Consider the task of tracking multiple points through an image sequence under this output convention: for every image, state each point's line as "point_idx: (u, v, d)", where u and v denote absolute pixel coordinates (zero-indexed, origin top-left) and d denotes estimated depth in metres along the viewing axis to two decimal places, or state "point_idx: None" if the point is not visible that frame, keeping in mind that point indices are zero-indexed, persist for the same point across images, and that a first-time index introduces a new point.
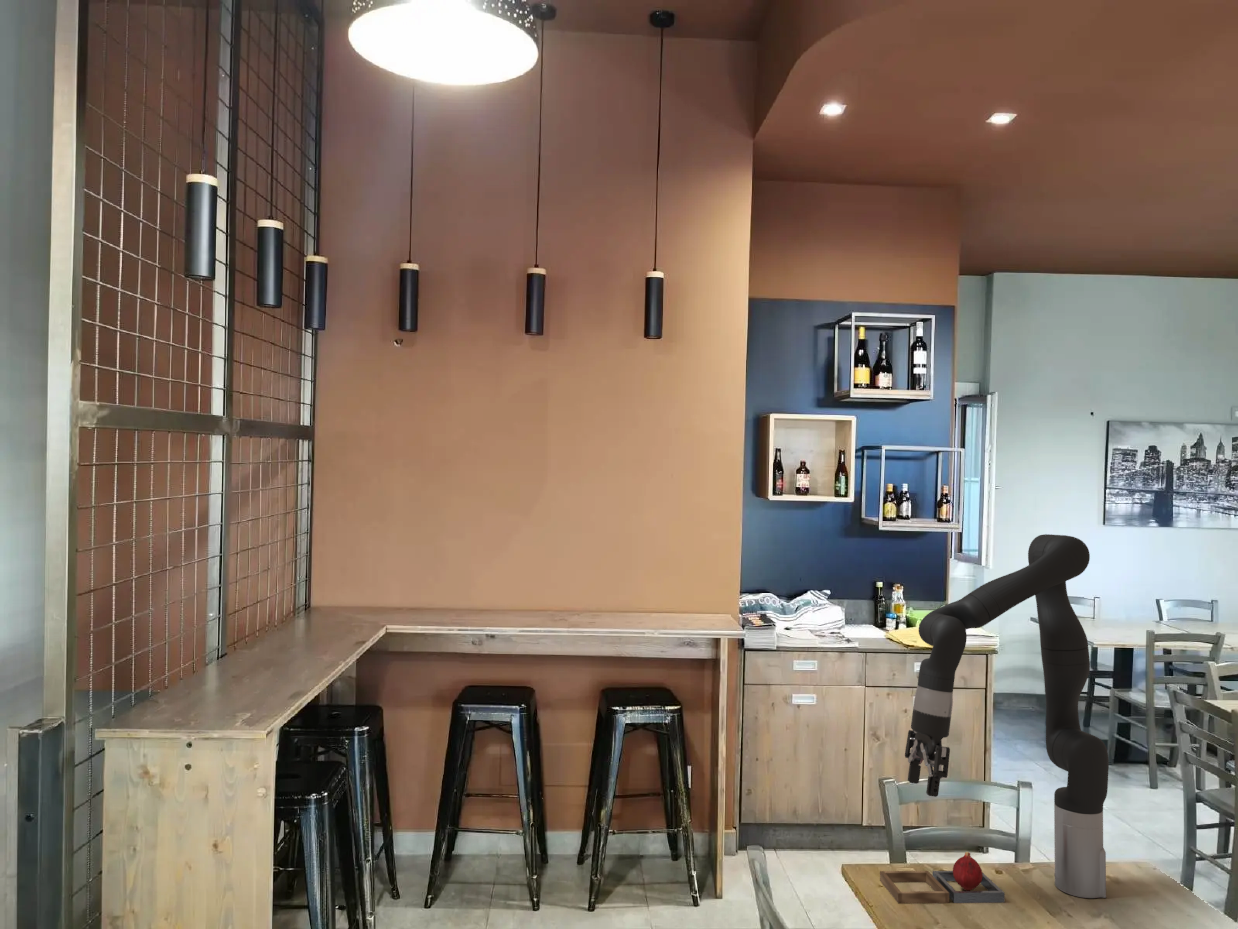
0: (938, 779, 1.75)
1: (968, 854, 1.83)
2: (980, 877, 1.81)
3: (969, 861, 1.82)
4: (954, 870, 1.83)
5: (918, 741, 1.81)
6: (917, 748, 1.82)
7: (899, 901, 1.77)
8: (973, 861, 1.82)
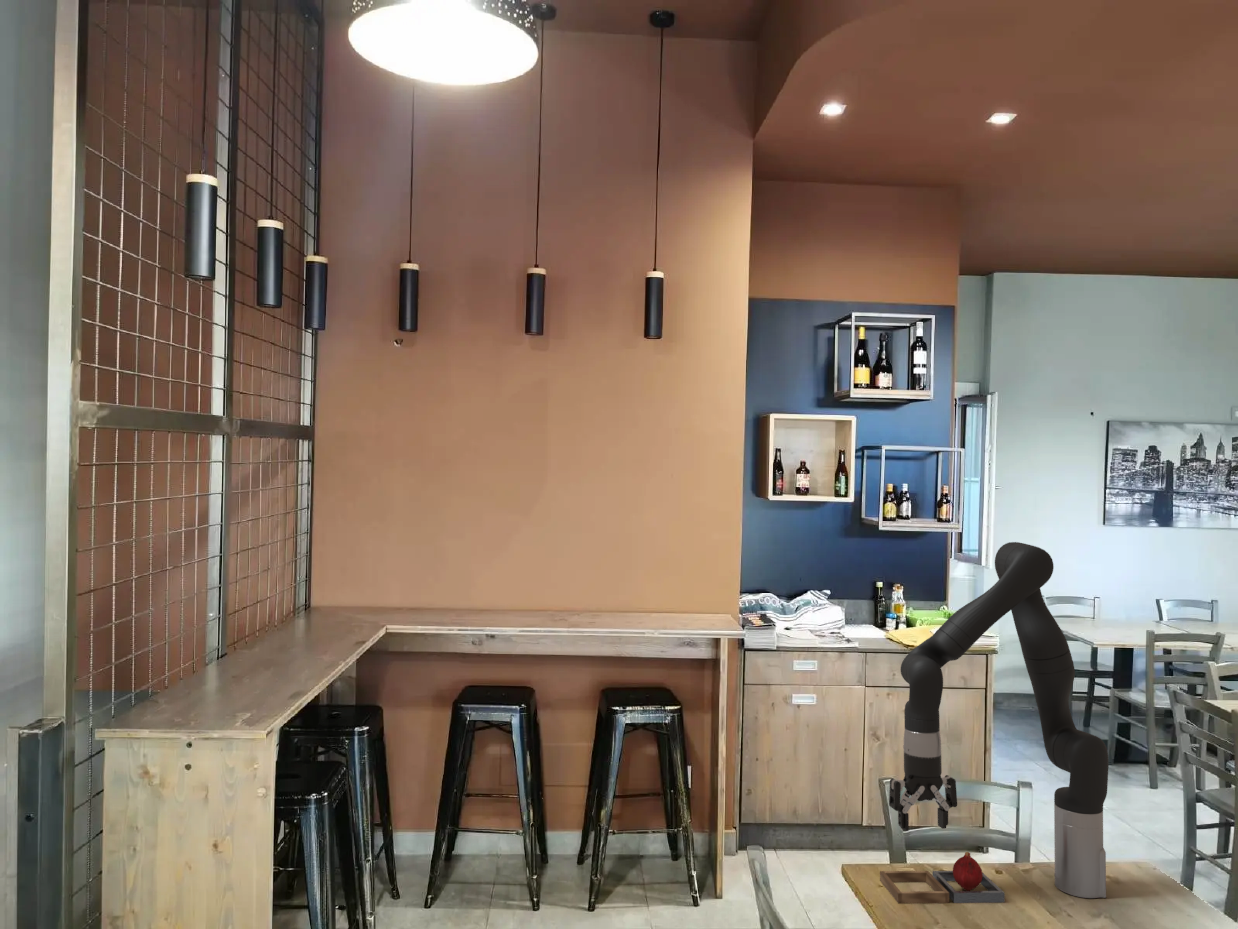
0: (900, 813, 1.82)
1: (968, 854, 1.83)
2: (980, 877, 1.81)
3: (969, 861, 1.82)
4: (954, 870, 1.83)
5: None
6: None
7: (899, 901, 1.77)
8: (973, 861, 1.82)
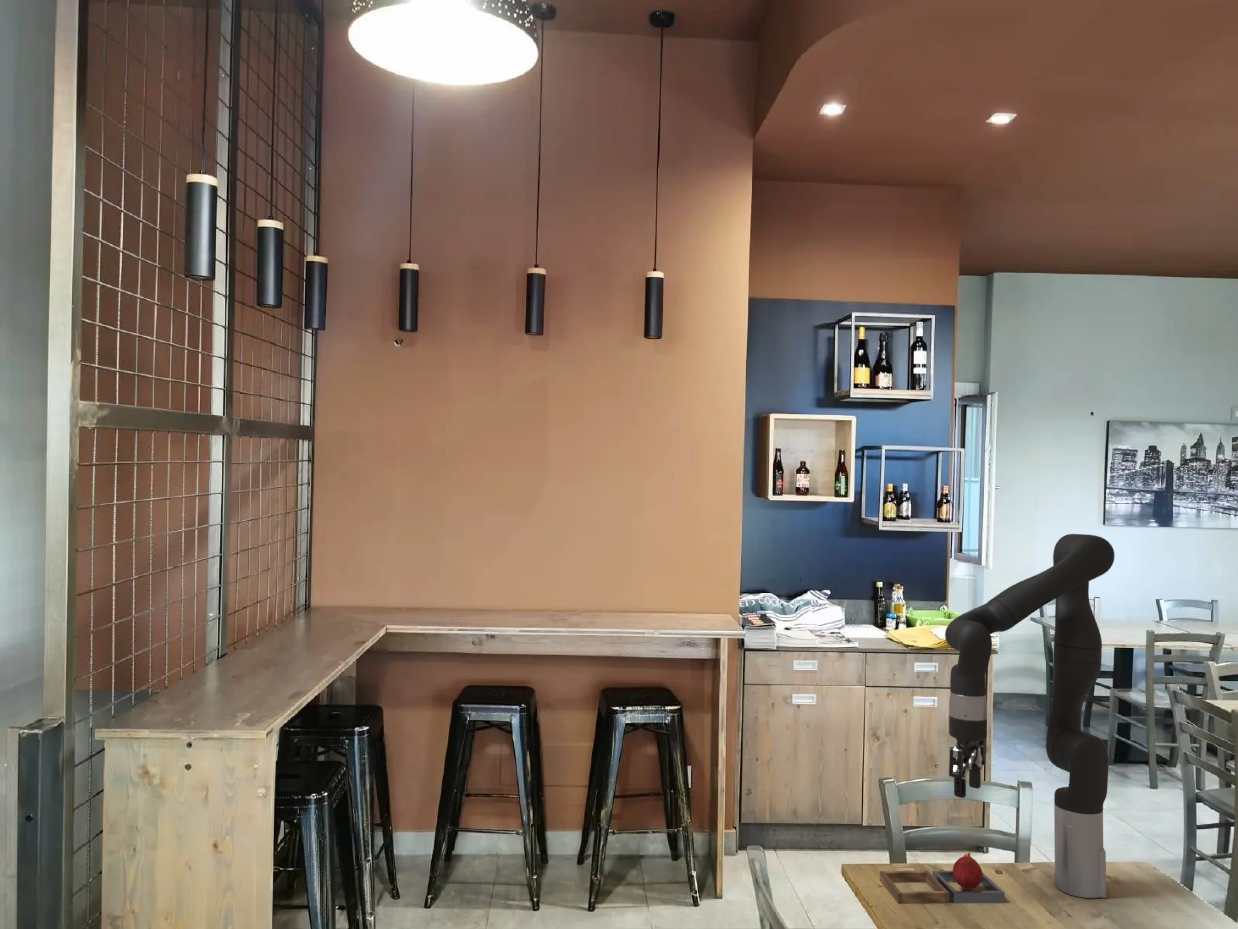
0: (959, 780, 1.80)
1: (968, 854, 1.83)
2: (980, 877, 1.81)
3: (969, 861, 1.82)
4: (954, 870, 1.83)
5: None
6: None
7: (899, 901, 1.77)
8: (973, 861, 1.82)
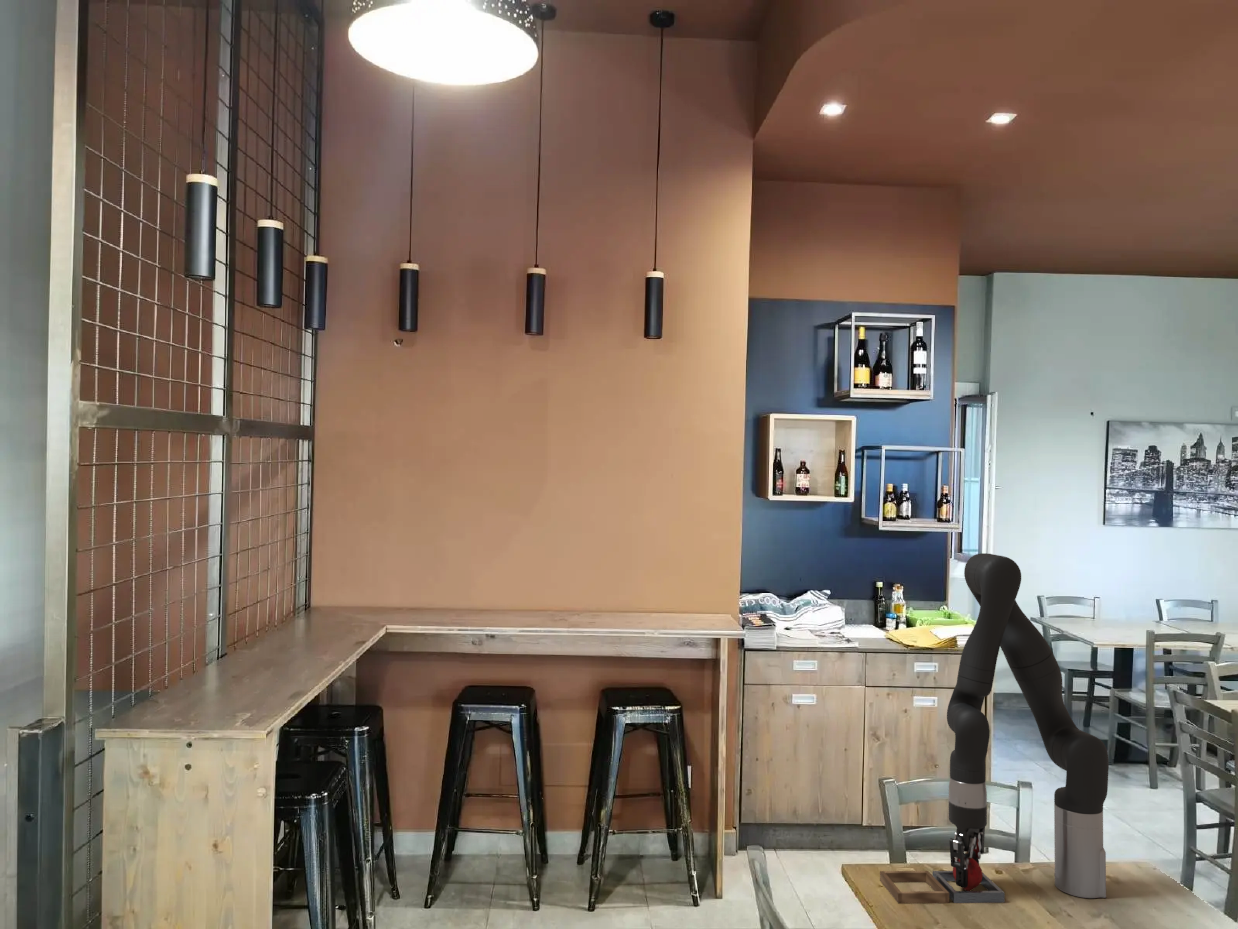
0: (961, 870, 1.80)
1: None
2: (980, 877, 1.81)
3: (969, 861, 1.82)
4: (954, 870, 1.83)
5: None
6: None
7: (899, 901, 1.77)
8: (973, 861, 1.82)
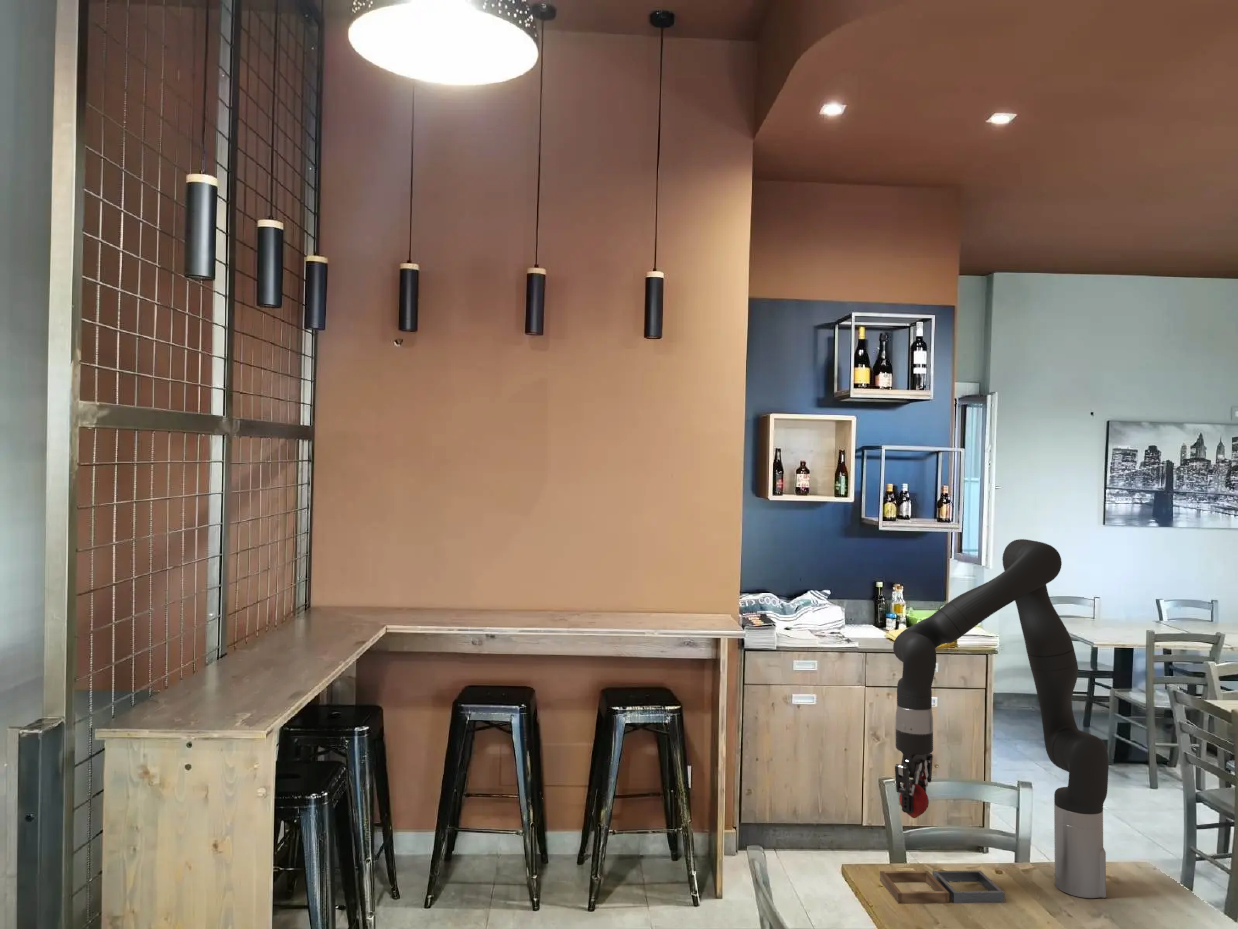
0: (907, 796, 1.80)
1: None
2: (926, 803, 1.81)
3: (915, 788, 1.82)
4: (900, 797, 1.83)
5: None
6: None
7: (899, 901, 1.77)
8: (919, 788, 1.82)
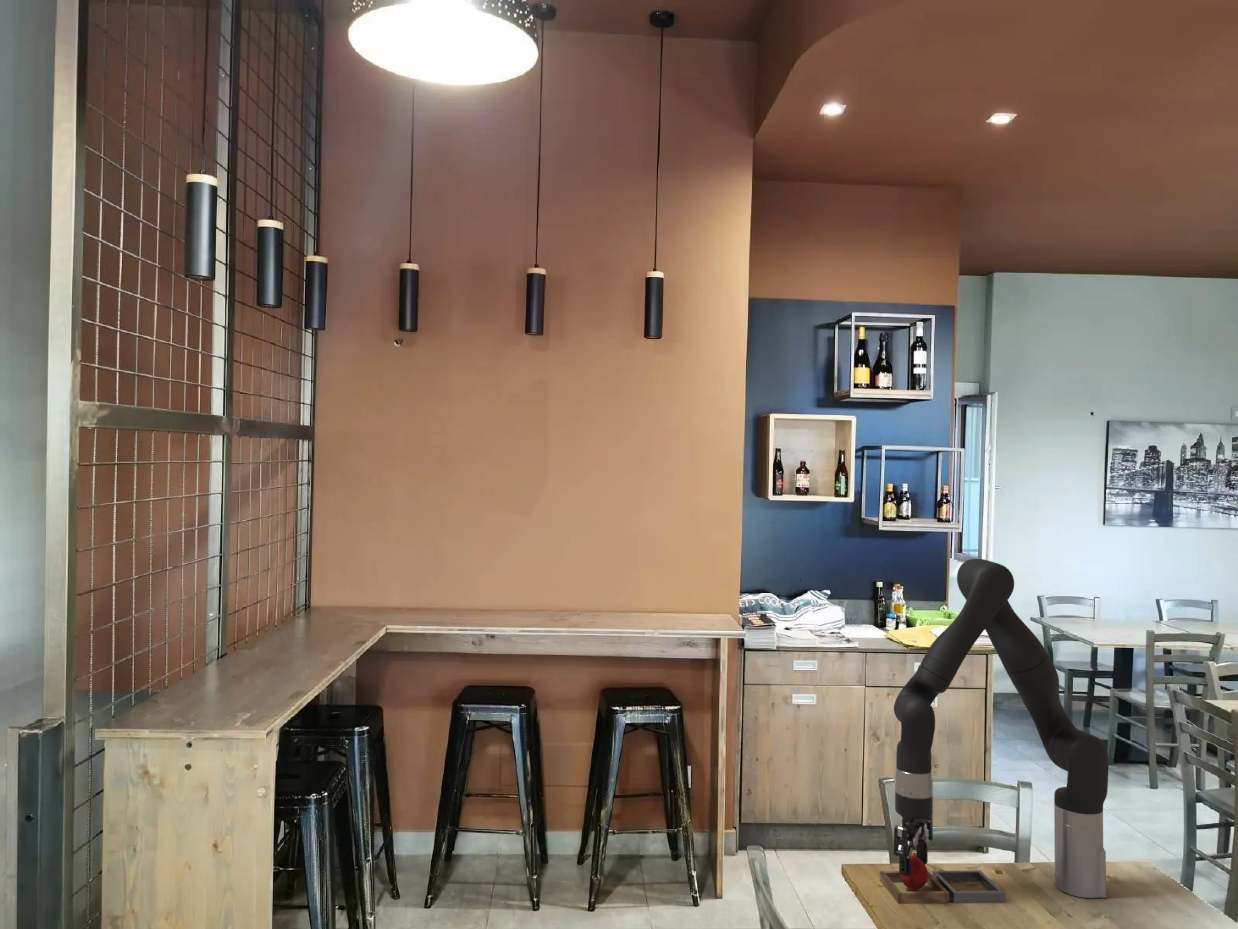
0: (904, 859, 1.79)
1: (914, 854, 1.83)
2: (925, 877, 1.80)
3: (914, 861, 1.81)
4: None
5: None
6: None
7: (899, 901, 1.77)
8: (918, 861, 1.82)
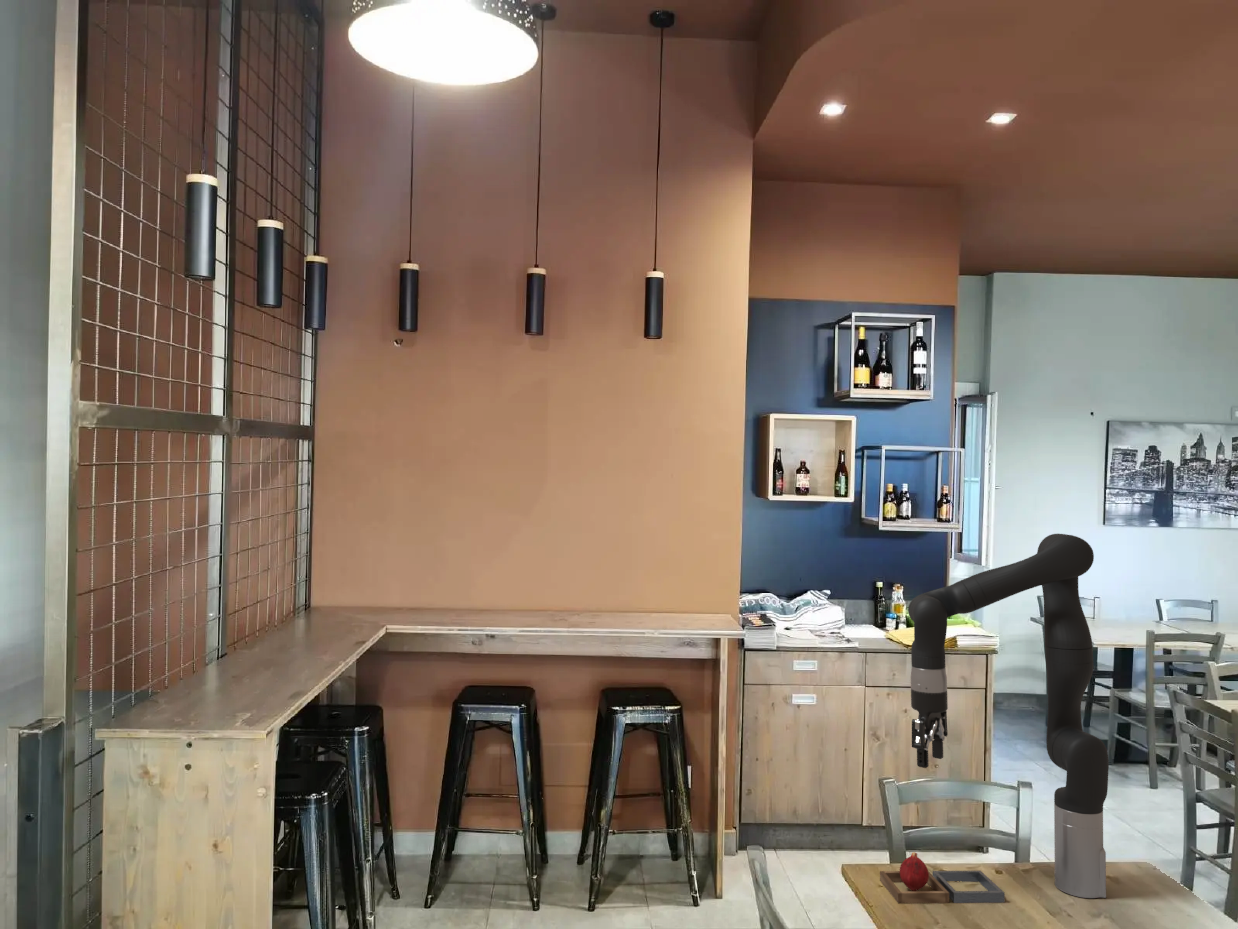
0: (922, 751, 1.86)
1: (915, 854, 1.83)
2: (926, 877, 1.80)
3: (915, 862, 1.81)
4: (901, 870, 1.82)
5: None
6: None
7: (899, 901, 1.77)
8: (919, 861, 1.82)
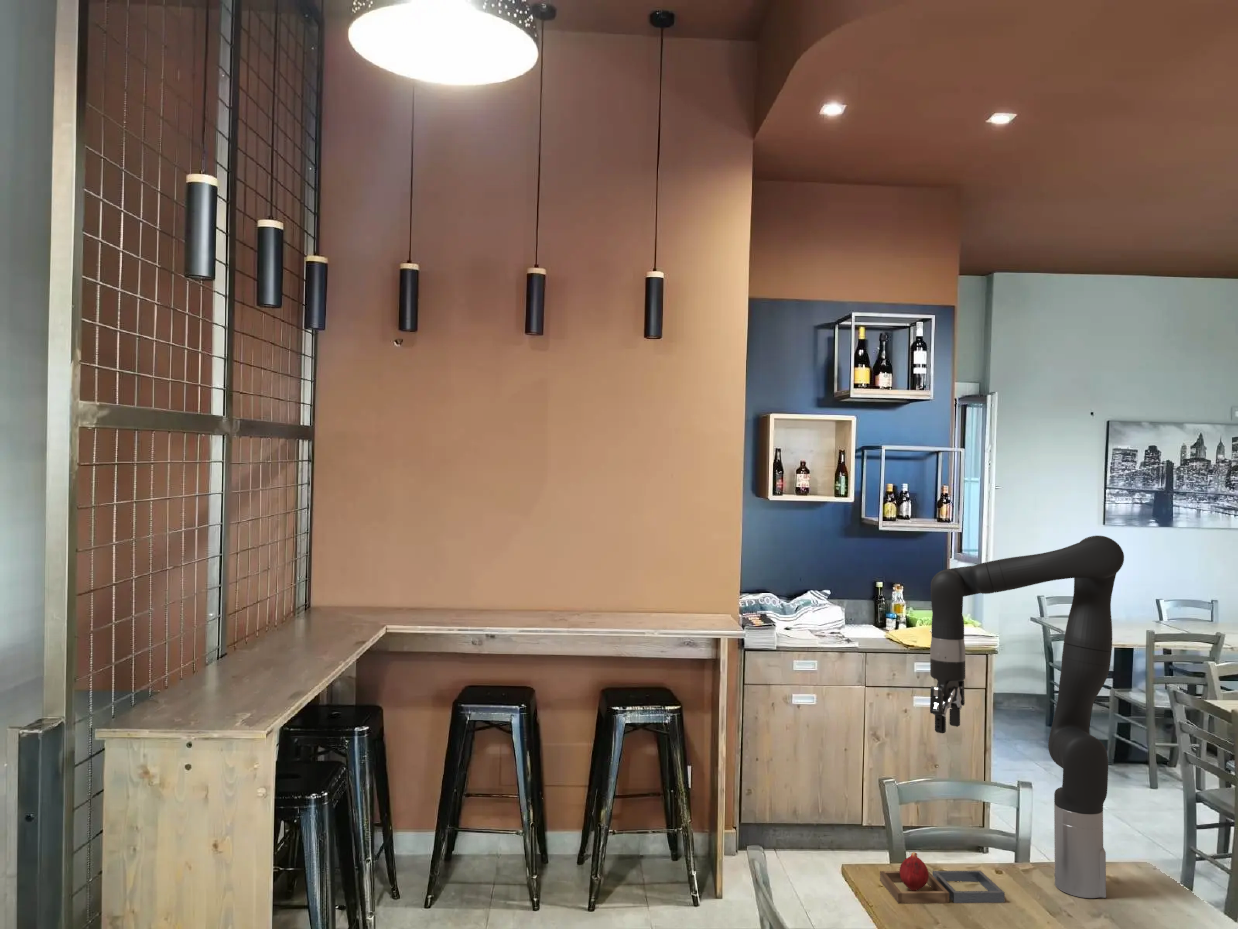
0: (939, 717, 1.94)
1: (914, 854, 1.83)
2: (926, 877, 1.80)
3: (915, 862, 1.81)
4: (900, 870, 1.82)
5: None
6: None
7: (899, 901, 1.77)
8: (919, 861, 1.82)
